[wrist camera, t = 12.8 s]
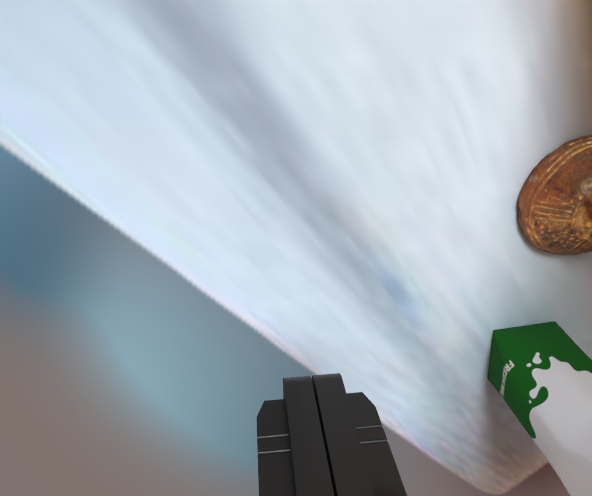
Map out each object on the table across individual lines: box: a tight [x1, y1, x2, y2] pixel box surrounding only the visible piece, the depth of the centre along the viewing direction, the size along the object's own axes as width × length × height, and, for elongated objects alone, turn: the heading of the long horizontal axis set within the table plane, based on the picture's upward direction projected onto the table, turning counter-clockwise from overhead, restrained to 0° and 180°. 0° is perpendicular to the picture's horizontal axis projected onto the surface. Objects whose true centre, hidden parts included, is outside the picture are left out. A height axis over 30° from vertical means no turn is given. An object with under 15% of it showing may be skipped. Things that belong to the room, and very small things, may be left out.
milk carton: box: [488, 322, 592, 496], centre depth 42 cm, size 9×9×20 cm
